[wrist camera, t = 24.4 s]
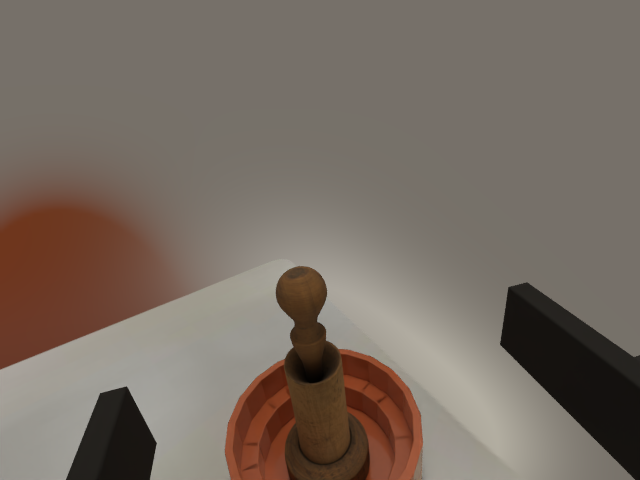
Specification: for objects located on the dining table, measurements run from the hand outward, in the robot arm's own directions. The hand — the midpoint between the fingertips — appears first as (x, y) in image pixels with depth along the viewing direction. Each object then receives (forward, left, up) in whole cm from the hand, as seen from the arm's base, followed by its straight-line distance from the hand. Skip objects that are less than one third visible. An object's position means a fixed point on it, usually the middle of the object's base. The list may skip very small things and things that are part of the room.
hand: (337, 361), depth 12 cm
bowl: (+8, -4, -20) cm, 22 cm away
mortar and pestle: (+8, -4, -20) cm, 21 cm away
